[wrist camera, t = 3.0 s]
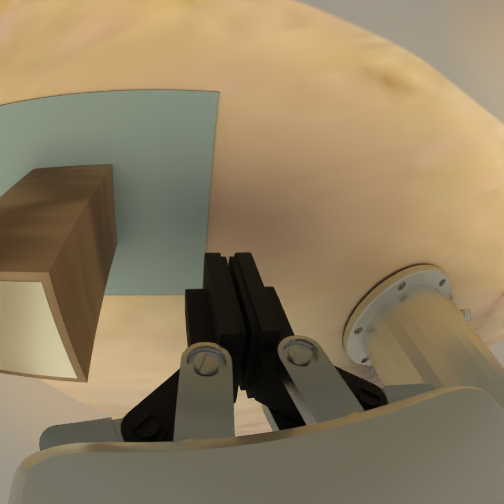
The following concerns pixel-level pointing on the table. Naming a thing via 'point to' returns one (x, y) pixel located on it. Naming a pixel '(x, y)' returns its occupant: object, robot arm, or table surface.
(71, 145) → the mat
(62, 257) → the block
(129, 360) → the table surface
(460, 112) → the table surface
